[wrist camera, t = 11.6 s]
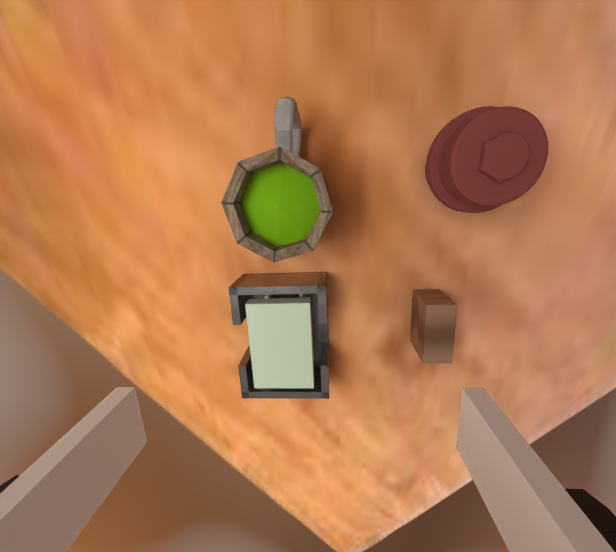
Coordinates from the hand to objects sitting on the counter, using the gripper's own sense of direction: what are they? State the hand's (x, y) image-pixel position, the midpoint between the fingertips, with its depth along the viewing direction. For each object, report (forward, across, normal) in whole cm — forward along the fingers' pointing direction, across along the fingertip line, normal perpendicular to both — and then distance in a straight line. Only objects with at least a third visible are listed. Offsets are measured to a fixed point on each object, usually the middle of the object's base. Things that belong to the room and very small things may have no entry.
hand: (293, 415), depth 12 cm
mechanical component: (+31, +17, +11) cm, 37 cm away
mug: (+31, -3, +10) cm, 33 cm away
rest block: (+31, +15, -9) cm, 35 cm away
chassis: (+31, -5, -10) cm, 33 cm away
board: (+26, -5, -10) cm, 28 cm away
